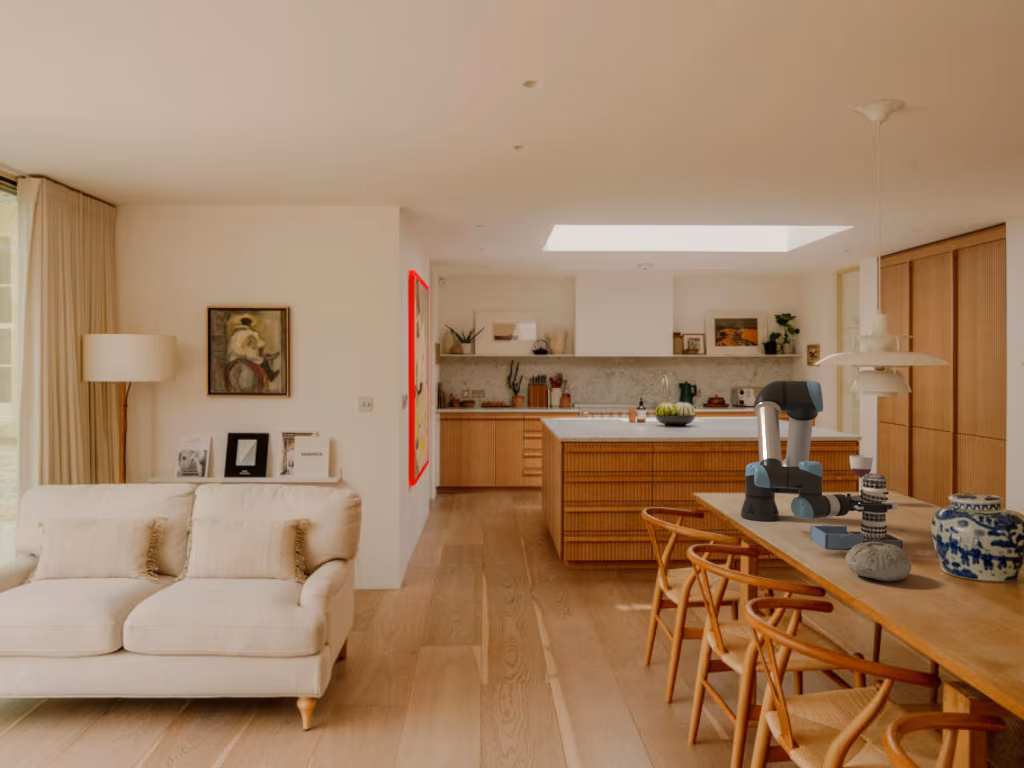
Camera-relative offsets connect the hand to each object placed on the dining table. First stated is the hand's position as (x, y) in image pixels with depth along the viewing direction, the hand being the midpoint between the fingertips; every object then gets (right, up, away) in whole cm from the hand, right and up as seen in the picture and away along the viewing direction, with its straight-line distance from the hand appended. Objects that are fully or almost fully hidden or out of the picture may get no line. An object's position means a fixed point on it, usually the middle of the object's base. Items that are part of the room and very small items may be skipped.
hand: (881, 501), depth 258 cm
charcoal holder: (-3, -15, -1) cm, 15 cm away
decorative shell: (-22, -16, -40) cm, 48 cm away
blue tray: (-16, -15, 0) cm, 22 cm away
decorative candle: (-3, -15, -1) cm, 16 cm away
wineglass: (+27, -13, +73) cm, 79 cm away
